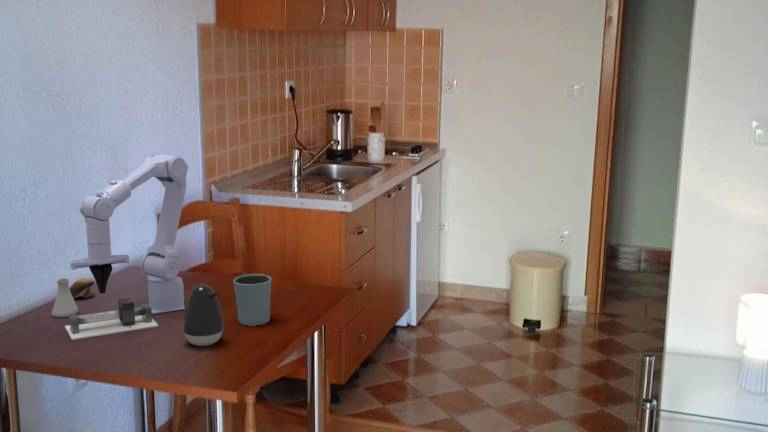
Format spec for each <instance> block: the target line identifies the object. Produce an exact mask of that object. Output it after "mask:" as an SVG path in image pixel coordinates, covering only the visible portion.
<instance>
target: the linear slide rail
mask: <svg viewBox="0 0 768 432" xmlns="http://www.w3.org/2000/svg"><path fill="white" fill-rule="evenodd" d="M148 304H149V303H142V304H141V305H140V306H134V308H135V316H142V319H143V320H144V321H145V322H146V323H149V322H152V319H153V314H152V308H151V307H150V306H149V305H148ZM68 318H69V320H68V321H69V325H70V330H71V332H72V333H73V334H77V333H79V325H81V324H88V323H95V322H101V321H108V320H115V319H121V318H123V315H122V309H121V310H119V309H114V310H107V311H102V312H95V313H87V314H80V315H79V314H70V315H69V317H68Z"/></svg>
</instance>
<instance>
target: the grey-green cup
mask: <svg viewBox="0 0 768 432" xmlns="http://www.w3.org/2000/svg"><path fill="white" fill-rule="evenodd" d="M232 282H233V288H234V295H235V302H236V309H237V311H236V313H237V321H238V323H239V322H240V323H241V324H240V323H239V324H240V325H242V324H244V325H243V326H246V325H248V326H249V327H257V326H256V325H259V326H262V325H261V324H263V325H266V324H268V323H269V322H270V321H271V309H270V308H271V300H272V299H271V294H272V291H271V290H272V277H271V276H269V275H267V274H264V273H263V274H262V273H261V274H260V273H250V274H249V273H248V274H243V275H242V274H241V275H239V276H236V277H235V278H234V279H233V281H232ZM269 320H270V321H269ZM267 322H268V323H267ZM265 323H266V324H265ZM248 326H247V327H248Z"/></svg>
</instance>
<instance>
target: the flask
mask: <svg viewBox="0 0 768 432" xmlns="http://www.w3.org/2000/svg"><path fill="white" fill-rule="evenodd" d="M69 282H70V278H67V277H65V278H62V277H61V278H57V279H56V283H57V294H56V296H55V297H56V298H55V301H54V305H53V306H52V307H53V308H52V310H51V314H50V316H51V317H56V318H69V315H70V314H76V315H79V314H78V313H79V312H80V309H79V307H78V305H77V303H76V301H75V298H73V297H72V295H71V292H70V286H69Z"/></svg>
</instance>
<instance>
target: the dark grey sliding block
mask: <svg viewBox="0 0 768 432" xmlns="http://www.w3.org/2000/svg"><path fill="white" fill-rule="evenodd" d="M117 301H118V310H121V309H122V315H123V318H121V319H119V320H120V321H121V322H122V324H123V325H130V324H135V302H134V301H133V299H132V298H131V297H126V298H118V300H117Z"/></svg>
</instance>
